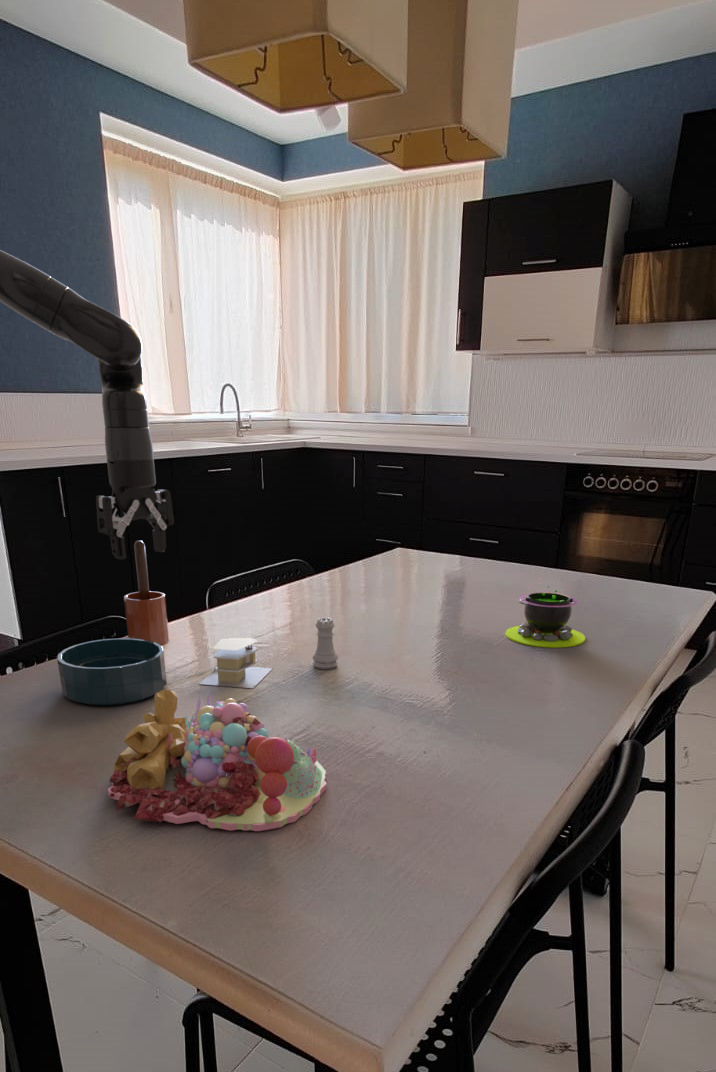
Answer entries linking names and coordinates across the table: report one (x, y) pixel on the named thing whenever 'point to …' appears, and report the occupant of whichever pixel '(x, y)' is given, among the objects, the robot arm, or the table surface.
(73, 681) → the bowl
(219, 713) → the pastel sphere sculpture
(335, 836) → the table surface
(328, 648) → the rook chess piece
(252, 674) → the stacked layers on plate
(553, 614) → the toy cauldron
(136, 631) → the crock
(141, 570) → the stirring stick
